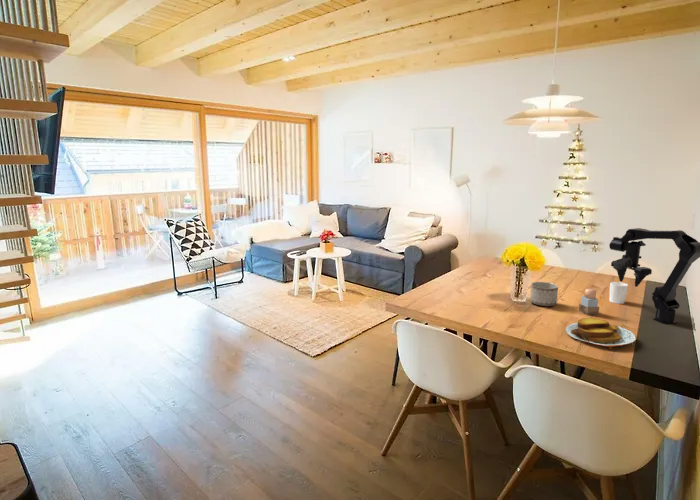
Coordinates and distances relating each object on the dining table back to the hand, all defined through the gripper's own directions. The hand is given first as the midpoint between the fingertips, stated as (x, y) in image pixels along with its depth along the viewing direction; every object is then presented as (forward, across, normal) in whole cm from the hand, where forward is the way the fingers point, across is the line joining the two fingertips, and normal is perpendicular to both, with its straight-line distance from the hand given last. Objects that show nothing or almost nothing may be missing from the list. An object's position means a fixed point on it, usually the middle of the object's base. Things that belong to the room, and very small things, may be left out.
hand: (628, 283), depth 197 cm
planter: (+13, -14, -36) cm, 41 cm away
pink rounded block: (+5, +2, -22) cm, 23 cm away
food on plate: (+14, +29, -38) cm, 50 cm away
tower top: (+9, +2, -22) cm, 24 cm away
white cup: (+13, -10, +4) cm, 17 cm away
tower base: (+13, +2, -22) cm, 26 cm away
